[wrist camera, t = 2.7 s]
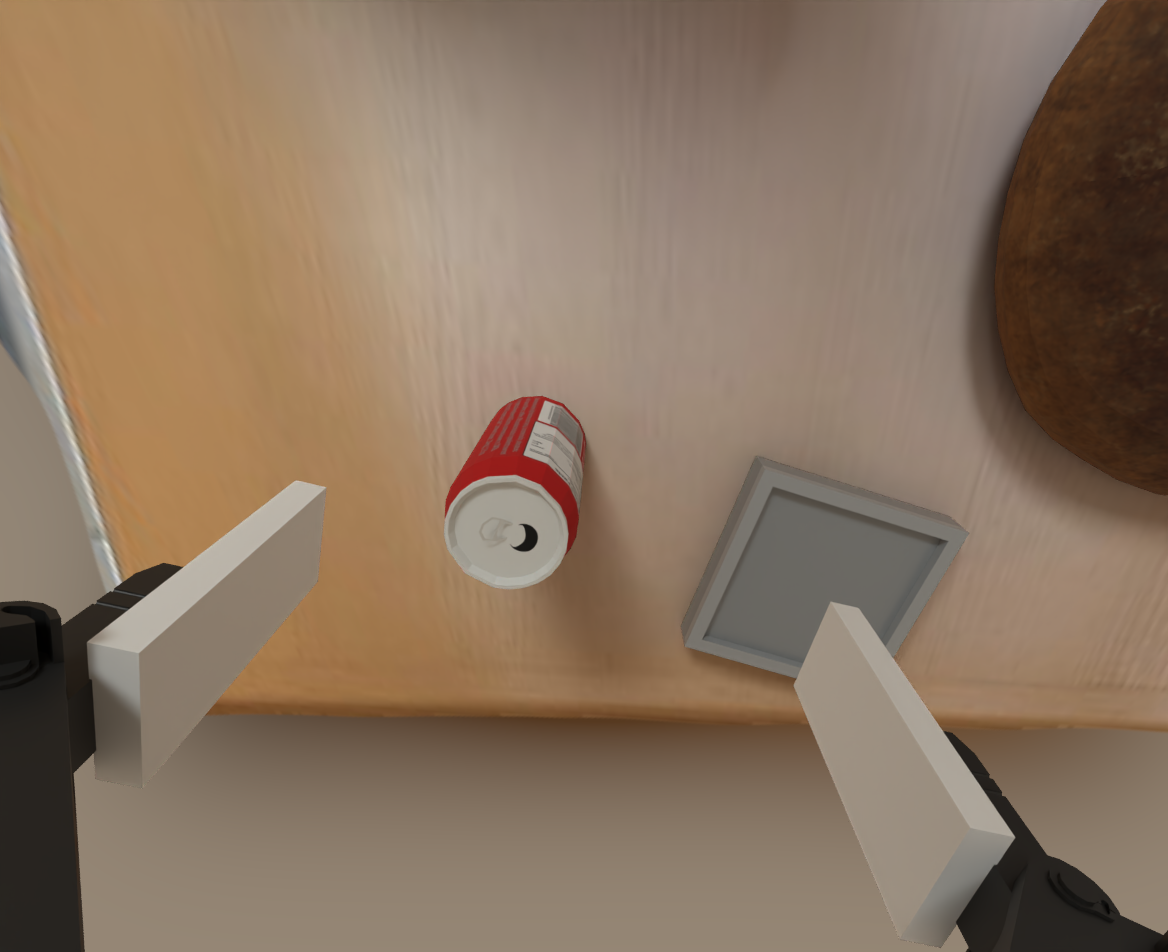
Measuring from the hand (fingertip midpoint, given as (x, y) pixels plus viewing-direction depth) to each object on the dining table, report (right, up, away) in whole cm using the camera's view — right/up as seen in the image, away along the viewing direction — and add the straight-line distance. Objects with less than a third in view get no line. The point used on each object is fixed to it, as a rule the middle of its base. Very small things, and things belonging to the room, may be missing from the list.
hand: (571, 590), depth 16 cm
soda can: (-2, +5, +19) cm, 20 cm away
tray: (+14, -3, +22) cm, 26 cm away
